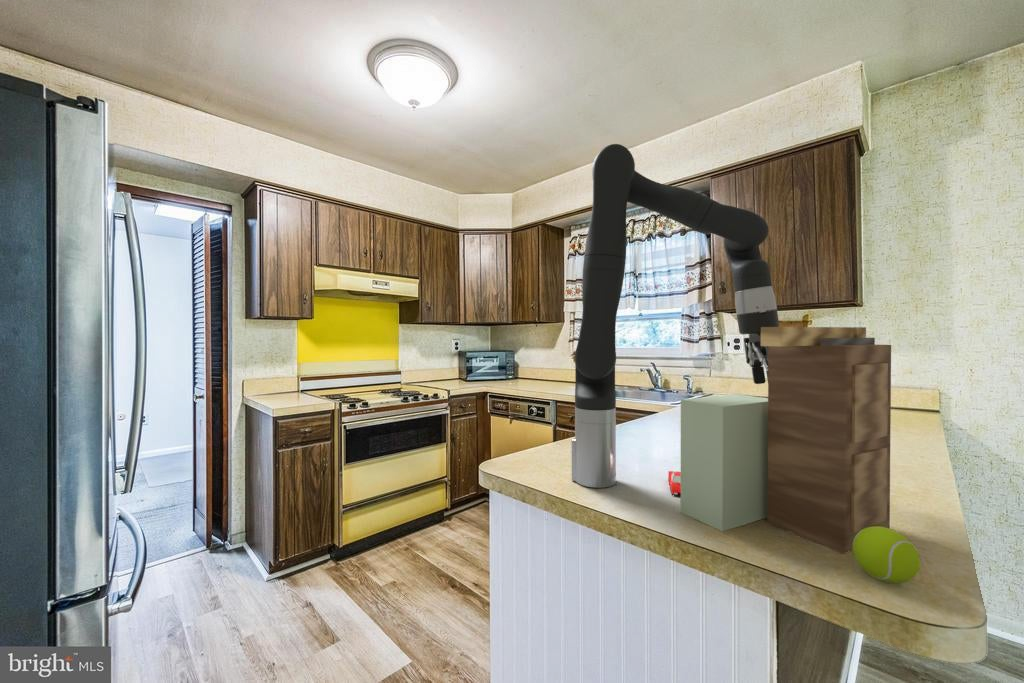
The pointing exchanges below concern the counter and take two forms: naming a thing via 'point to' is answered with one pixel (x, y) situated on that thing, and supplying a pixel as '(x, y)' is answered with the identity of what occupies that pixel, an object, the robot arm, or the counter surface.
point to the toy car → (675, 483)
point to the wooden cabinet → (829, 439)
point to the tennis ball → (886, 554)
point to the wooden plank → (806, 335)
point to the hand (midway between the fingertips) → (767, 385)
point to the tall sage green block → (724, 459)
